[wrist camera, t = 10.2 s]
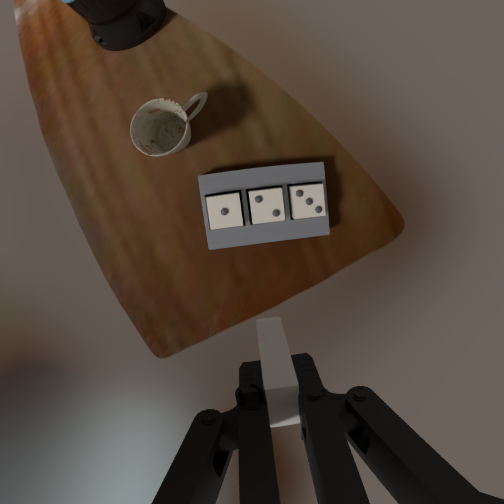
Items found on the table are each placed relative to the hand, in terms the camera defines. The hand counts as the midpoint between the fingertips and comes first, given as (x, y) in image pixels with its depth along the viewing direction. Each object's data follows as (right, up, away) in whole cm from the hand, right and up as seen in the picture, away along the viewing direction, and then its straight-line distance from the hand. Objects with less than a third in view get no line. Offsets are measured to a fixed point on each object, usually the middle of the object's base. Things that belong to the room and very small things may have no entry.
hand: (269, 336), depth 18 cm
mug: (-13, +26, +26) cm, 39 cm away
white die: (+1, +13, +29) cm, 32 cm away
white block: (-5, +12, +29) cm, 32 cm away
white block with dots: (+7, +14, +29) cm, 33 cm away
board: (+1, +14, +30) cm, 33 cm away
